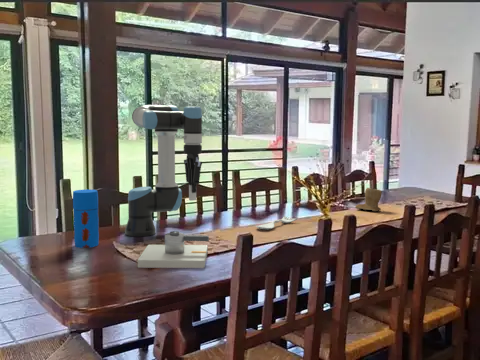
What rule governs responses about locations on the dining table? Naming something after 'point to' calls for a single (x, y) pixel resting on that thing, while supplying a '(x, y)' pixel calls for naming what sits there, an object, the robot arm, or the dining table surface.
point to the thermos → (86, 218)
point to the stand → (173, 257)
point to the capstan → (180, 241)
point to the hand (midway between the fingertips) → (192, 200)
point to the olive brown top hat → (371, 200)
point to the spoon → (271, 225)
